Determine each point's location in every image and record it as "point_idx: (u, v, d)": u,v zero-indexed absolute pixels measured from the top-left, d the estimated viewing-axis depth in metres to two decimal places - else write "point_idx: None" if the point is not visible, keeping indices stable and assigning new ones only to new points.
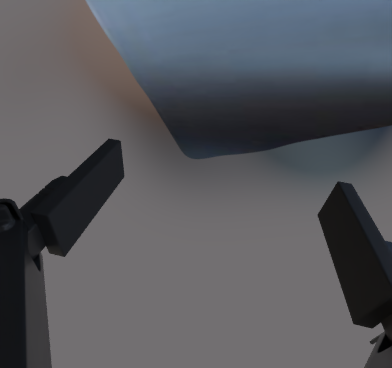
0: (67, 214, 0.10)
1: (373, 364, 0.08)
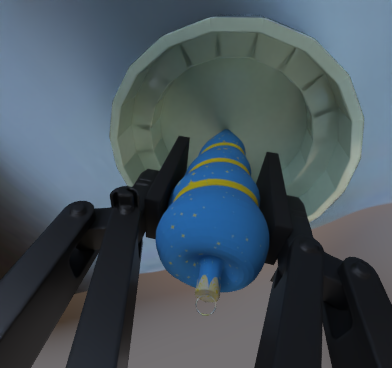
0: (165, 202, 0.12)
1: (272, 300, 0.09)
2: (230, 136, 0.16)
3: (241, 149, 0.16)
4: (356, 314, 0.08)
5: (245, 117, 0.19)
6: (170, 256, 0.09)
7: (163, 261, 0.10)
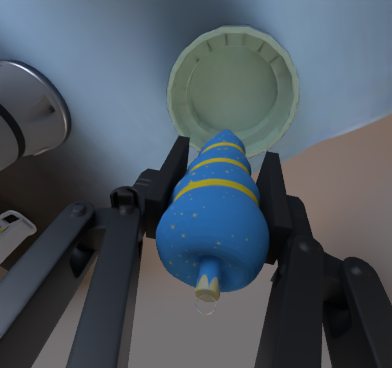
0: (165, 202, 0.12)
1: (272, 300, 0.09)
2: (230, 136, 0.16)
3: (241, 149, 0.16)
4: (356, 314, 0.08)
5: (241, 82, 0.32)
6: (170, 256, 0.09)
7: (163, 261, 0.10)
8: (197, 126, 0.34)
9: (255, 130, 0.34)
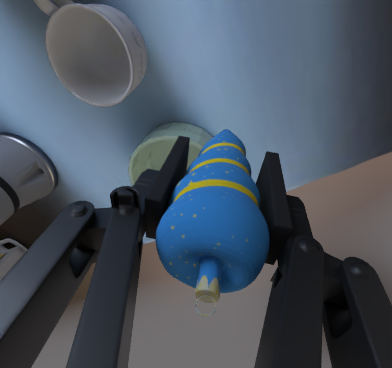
0: (165, 202, 0.12)
1: (272, 300, 0.09)
2: (230, 136, 0.16)
3: (241, 149, 0.16)
4: (356, 314, 0.08)
5: (188, 159, 0.41)
6: (170, 257, 0.09)
7: (163, 261, 0.10)
8: None
9: None
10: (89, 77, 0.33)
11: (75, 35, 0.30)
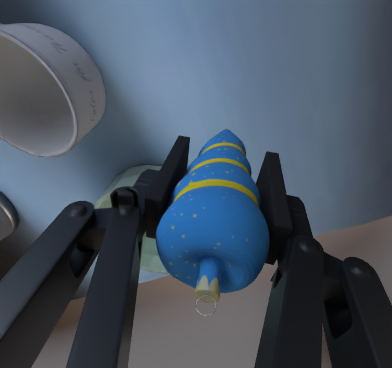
0: (165, 202, 0.12)
1: (272, 300, 0.09)
2: (230, 136, 0.16)
3: (241, 149, 0.16)
4: (356, 314, 0.08)
5: None
6: (170, 257, 0.09)
7: (163, 261, 0.10)
8: None
9: None
10: (32, 114, 0.25)
11: (7, 62, 0.23)
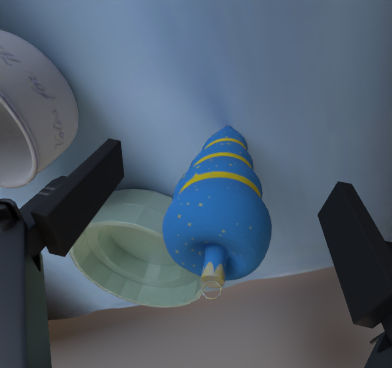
0: (67, 214, 0.10)
1: (373, 364, 0.08)
2: (232, 132, 0.16)
3: (243, 145, 0.16)
4: None
5: None
6: (177, 245, 0.10)
7: (170, 250, 0.10)
8: (117, 267, 0.32)
9: (177, 275, 0.31)
10: None
11: None
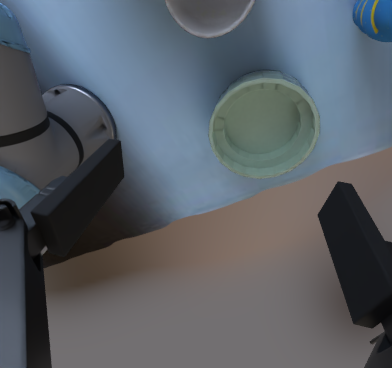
0: (67, 214, 0.10)
1: (373, 364, 0.08)
2: None
3: None
4: None
5: (269, 115, 0.39)
6: None
7: (388, 8, 0.19)
8: (229, 148, 0.41)
9: (278, 154, 0.40)
10: (186, 11, 0.30)
11: None
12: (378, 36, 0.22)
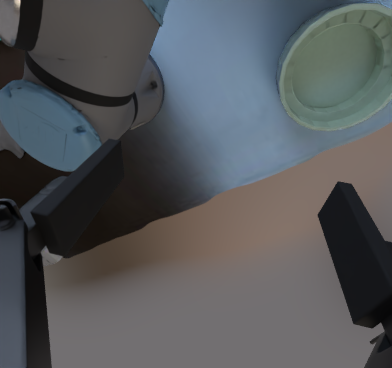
0: (67, 214, 0.10)
1: (373, 364, 0.08)
2: None
3: None
4: None
5: (342, 59, 0.36)
6: None
7: None
8: (296, 100, 0.38)
9: (350, 104, 0.37)
10: None
11: None
12: None
